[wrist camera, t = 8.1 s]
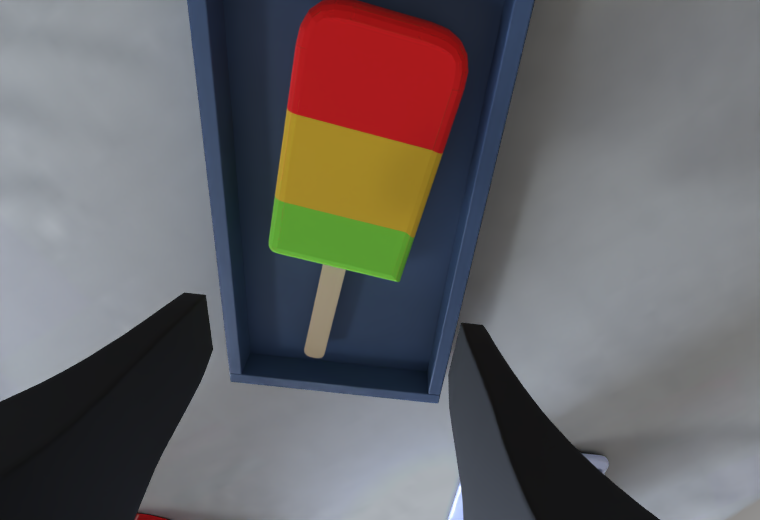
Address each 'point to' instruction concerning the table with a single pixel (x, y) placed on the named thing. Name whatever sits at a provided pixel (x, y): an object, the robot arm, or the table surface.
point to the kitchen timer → (147, 517)
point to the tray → (301, 277)
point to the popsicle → (361, 143)
